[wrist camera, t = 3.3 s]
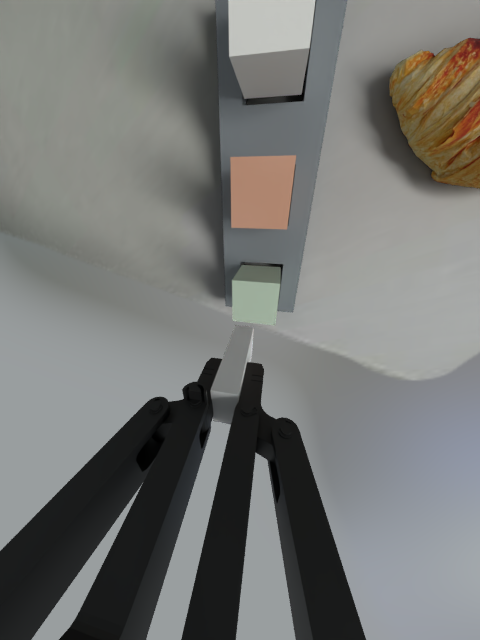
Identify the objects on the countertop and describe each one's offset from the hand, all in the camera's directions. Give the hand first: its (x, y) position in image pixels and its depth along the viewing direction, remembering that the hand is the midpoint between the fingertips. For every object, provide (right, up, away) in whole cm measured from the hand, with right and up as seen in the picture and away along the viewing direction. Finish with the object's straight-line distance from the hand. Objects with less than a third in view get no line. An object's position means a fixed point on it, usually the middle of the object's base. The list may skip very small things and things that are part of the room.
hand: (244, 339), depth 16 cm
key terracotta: (+2, +15, +5) cm, 16 cm away
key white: (+3, +24, 0) cm, 24 cm away
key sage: (+2, +6, +10) cm, 12 cm away
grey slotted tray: (+3, +16, +7) cm, 18 cm away
